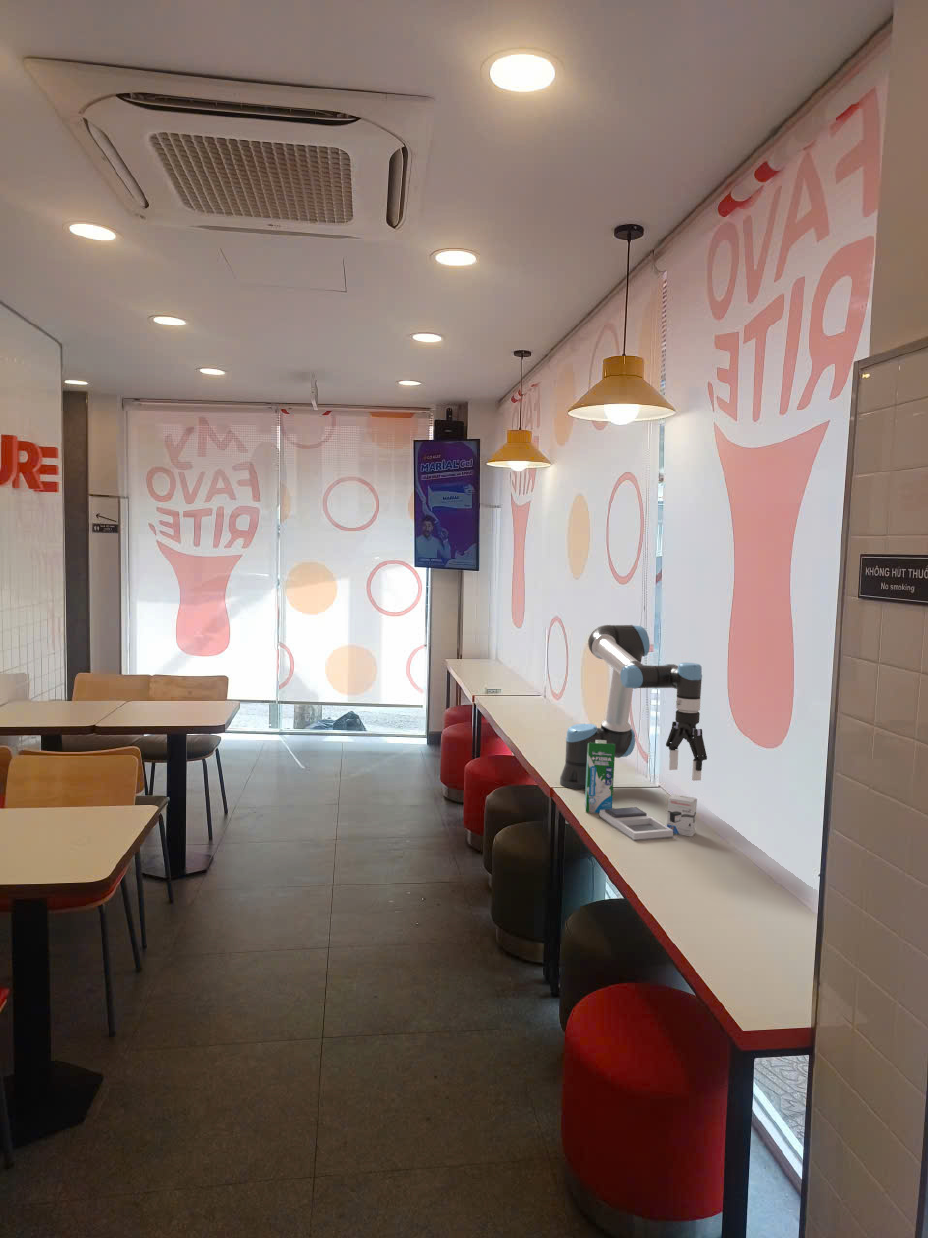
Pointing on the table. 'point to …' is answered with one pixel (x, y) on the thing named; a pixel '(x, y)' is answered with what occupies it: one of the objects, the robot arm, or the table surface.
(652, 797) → the table surface
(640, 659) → the robot arm
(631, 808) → the phone slab
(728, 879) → the table surface
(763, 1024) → the table surface
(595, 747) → the milk carton
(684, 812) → the ink box
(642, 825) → the socket plate
